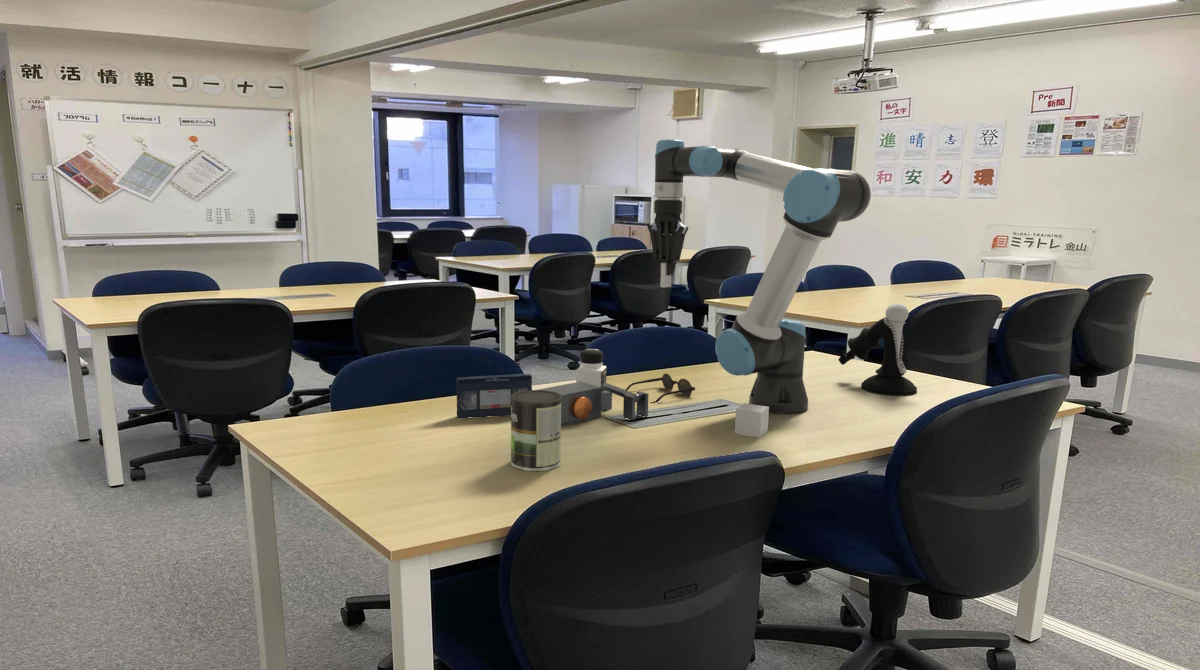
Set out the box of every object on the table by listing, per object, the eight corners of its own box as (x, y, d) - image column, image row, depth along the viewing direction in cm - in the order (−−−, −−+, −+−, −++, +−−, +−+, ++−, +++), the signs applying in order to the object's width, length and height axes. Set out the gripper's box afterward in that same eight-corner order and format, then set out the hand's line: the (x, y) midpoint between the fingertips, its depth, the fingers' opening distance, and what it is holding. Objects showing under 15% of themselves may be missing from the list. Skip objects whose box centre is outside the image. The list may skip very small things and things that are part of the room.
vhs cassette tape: (457, 419, 197) (457, 379, 196) (456, 416, 200) (455, 376, 198) (532, 415, 202) (532, 375, 200) (530, 412, 205) (530, 373, 203)
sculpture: (901, 398, 225) (909, 308, 220) (824, 383, 241) (830, 299, 237) (925, 389, 235) (933, 303, 231) (850, 376, 252) (855, 295, 248)
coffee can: (509, 472, 160) (509, 402, 158) (511, 455, 170) (510, 389, 168) (562, 471, 161) (563, 402, 159) (560, 455, 171) (561, 389, 169)
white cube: (759, 438, 186) (761, 412, 185) (734, 434, 189) (735, 408, 188) (767, 431, 191) (769, 406, 190) (743, 427, 194) (744, 403, 193)
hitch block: (601, 417, 201) (601, 387, 200) (557, 427, 192) (557, 396, 190) (579, 410, 207) (579, 381, 205) (536, 420, 197) (536, 389, 196)
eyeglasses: (694, 398, 223) (695, 380, 222) (651, 405, 214) (652, 387, 214) (661, 387, 235) (661, 370, 234) (619, 394, 226) (619, 376, 225)
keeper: (643, 402, 200) (643, 394, 200) (634, 404, 198) (634, 396, 198) (608, 388, 209) (608, 381, 209) (599, 390, 207) (599, 383, 207)
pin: (591, 416, 197) (592, 395, 196) (575, 420, 193) (575, 399, 192) (555, 406, 206) (556, 385, 206) (539, 409, 203) (539, 389, 202)
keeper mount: (647, 417, 202) (648, 393, 200) (631, 421, 198) (632, 397, 197) (610, 406, 211) (610, 383, 210) (594, 410, 207) (594, 386, 206)
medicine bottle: (601, 396, 221) (602, 353, 219) (575, 395, 223) (576, 351, 221) (606, 390, 228) (607, 348, 226) (581, 389, 230) (581, 347, 228)
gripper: (641, 198, 221) (639, 285, 225) (677, 199, 211) (674, 290, 215) (660, 198, 226) (657, 283, 230) (696, 199, 216) (693, 288, 220)
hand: (665, 286), depth 223 cm, fingers closed
